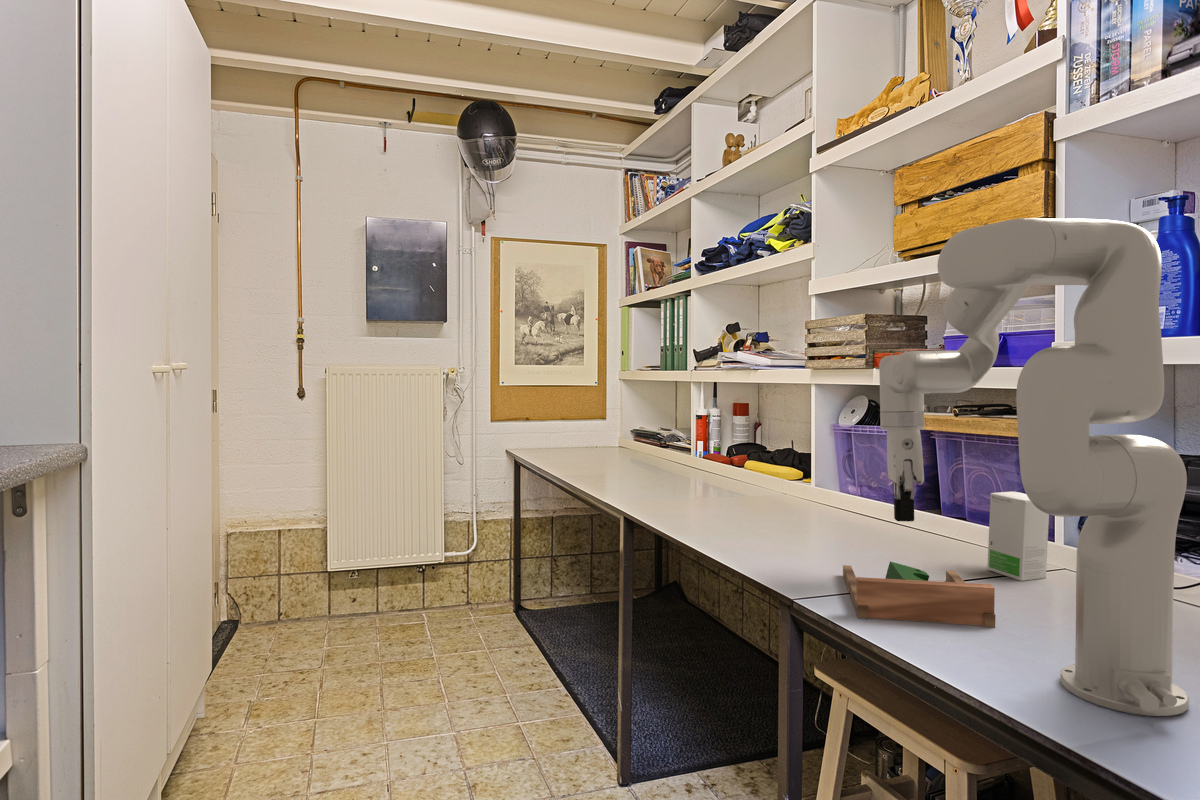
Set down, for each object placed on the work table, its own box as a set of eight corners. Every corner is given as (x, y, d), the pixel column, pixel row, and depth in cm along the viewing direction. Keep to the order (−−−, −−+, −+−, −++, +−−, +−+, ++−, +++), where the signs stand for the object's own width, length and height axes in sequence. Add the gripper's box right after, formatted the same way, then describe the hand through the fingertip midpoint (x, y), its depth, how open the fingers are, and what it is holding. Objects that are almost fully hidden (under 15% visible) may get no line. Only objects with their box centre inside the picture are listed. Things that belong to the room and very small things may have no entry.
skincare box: (986, 570, 141) (987, 492, 140) (1012, 567, 143) (1013, 490, 142) (1023, 581, 133) (1023, 499, 132) (1050, 578, 135) (1050, 497, 134)
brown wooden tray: (995, 627, 109) (995, 588, 109) (858, 618, 114) (858, 581, 114) (954, 581, 133) (954, 549, 133) (842, 575, 138) (843, 544, 138)
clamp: (923, 637, 117) (943, 596, 113) (886, 626, 118) (904, 585, 114) (915, 590, 128) (933, 551, 123) (881, 581, 129) (897, 542, 125)
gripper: (933, 422, 123) (935, 528, 123) (915, 420, 138) (918, 514, 137) (886, 423, 125) (889, 527, 125) (874, 420, 139) (876, 514, 139)
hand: (904, 520), depth 131 cm, fingers closed
